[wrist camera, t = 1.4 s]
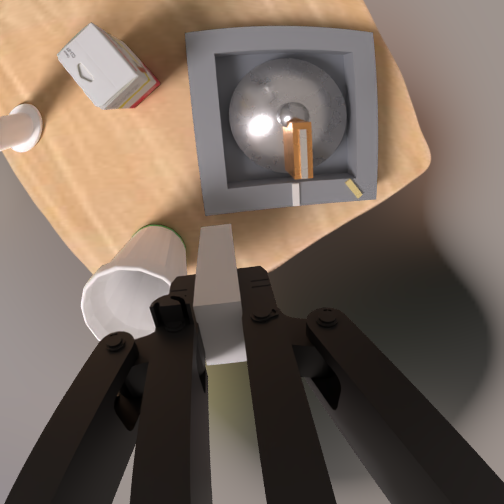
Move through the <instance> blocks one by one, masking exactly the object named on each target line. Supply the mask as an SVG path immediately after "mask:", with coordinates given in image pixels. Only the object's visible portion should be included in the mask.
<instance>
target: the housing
mask: <svg viewBox="0 0 504 504" xmlns="http://www.w3.org/2000/svg"><path fill="white" fill-rule="evenodd" d="M185 41H186V53H187V64H188V75H189V85H190V95H191V104H192V114H193V123H194V131H195V140H196V148H197V156H198V164H199V172H200V180H201V187H202V195H203V202H204V209H205V216H210V215H218V214H226V213H235V212H243V211H252V210H262V209H271V208H281V207H291V206H301V205H312V204H323V203H335V202H347V201H360V200H373V199H376V192H377V168H378V101H377V78H376V63H375V50H374V39H373V33H372V32H365V31H357V30H348V29H338V28H325V27H307V26H253V27H235V28H223V29H212V30H204V31H196V32H188V33H185ZM283 58H290V59H298V60H303V61H306V62H309V63H311V64H313V65H315V66H317V67H319V68H320V69H322V70H323V71H324V72H326V73H327V74H328V75H329V76H330V77H331V78H332V79H333V80H334V82H335V83H336V84H337V86H338V88H339V89H340V91H341V93H342V96H343V98H344V102H345V106H346V114H347V116H346V127H345V131H344V135H343V137H342V140H341V142H340V144H339V145H338V147H337V149H336V150H335V151H334V152H333V154H332V155H331V156H330V157H329V158H328V159H327V160H325V161H324V162H323V163H321V164H319V165H318V166H316V167H314V168H313V178H309V179H296V180H295V179H294V178H293V177H292V176H291V175H290V174H289V173H281V172H275V171H271V170H269V169H266V168H263V167H262V166H260V165H258V164H256V163H255V162H253V161H252V160H251V159H250V158H249V157H247V156H246V155H245V154H244V152H243V151H242V150H241V149H240V147H239V146H238V144H237V143H236V141H235V138H234V136H233V134H232V131H231V128H230V123H229V104H230V101H231V97H232V95H233V92H234V90H235V88H236V87H237V85H238V83H239V82H240V81H241V80H242V78H243V77H244V76H245V75H246V74H248V73H249V72H250V71H251V70H252V69H254V68H255V67H257V66H259V65H261V64H263V63H265V62H268V61H271V60H275V59H283Z"/></svg>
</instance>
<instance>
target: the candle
mask: <svg viewBox="0 0 504 504" xmlns="http://www.w3.org/2000/svg"><path fill="white" fill-rule="evenodd" d="M42 127H43V123H42V117H41V114H40V112H39V110H38V109H37V108H36V107H35V106H33V105H31V104H20V105H18V106H16V107H15V108H14V109H13V110H12V111H11V112H10V113H9V115H6V116H1V117H0V151H2V150H5V149H8V148H12V149H13V150H15V151H17V152H26V151H28V150H30V149H32V148H33V147H34V146H35V145H36V144H37V142H38V141H39V139H40V137H41V133H42Z"/></svg>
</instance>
